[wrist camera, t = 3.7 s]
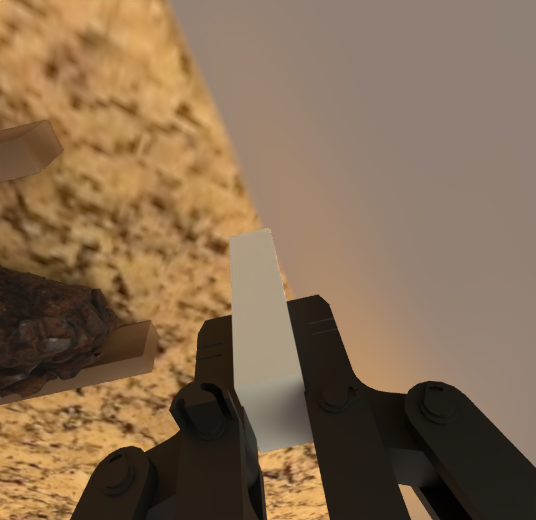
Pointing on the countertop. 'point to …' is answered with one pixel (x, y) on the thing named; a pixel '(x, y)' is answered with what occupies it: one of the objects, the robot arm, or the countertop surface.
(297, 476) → the countertop surface
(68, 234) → the countertop surface
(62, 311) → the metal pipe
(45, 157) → the channel rails
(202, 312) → the countertop surface
